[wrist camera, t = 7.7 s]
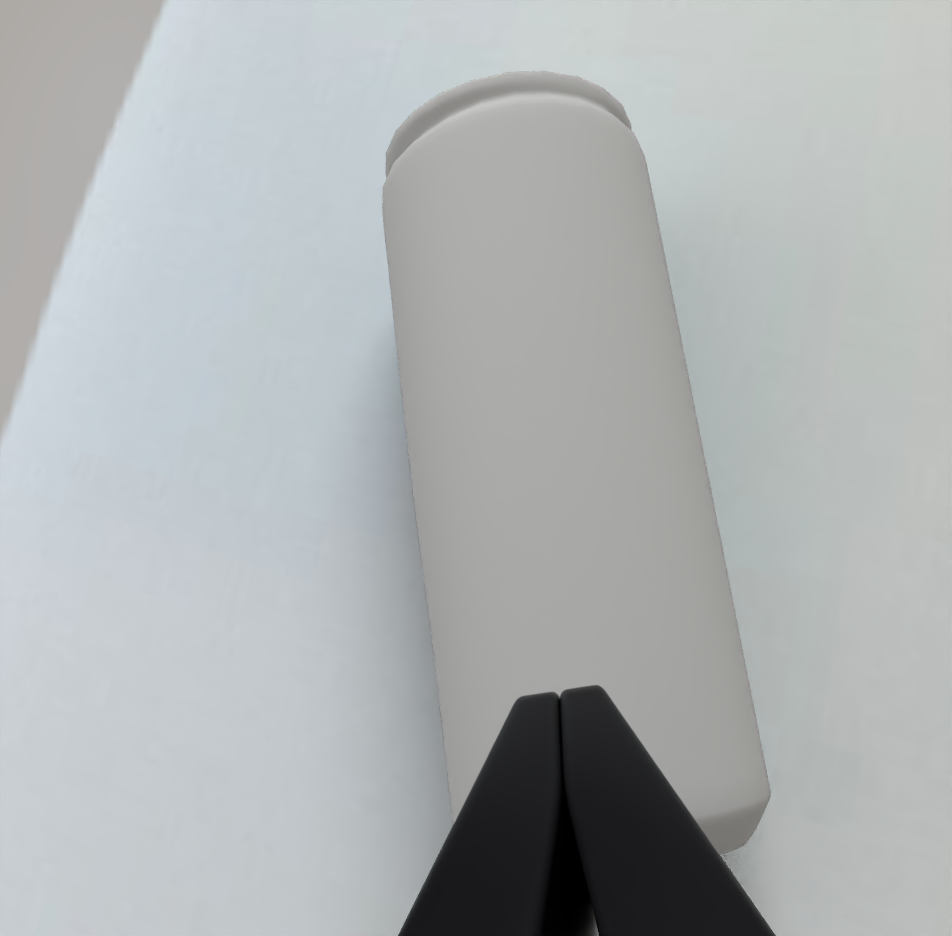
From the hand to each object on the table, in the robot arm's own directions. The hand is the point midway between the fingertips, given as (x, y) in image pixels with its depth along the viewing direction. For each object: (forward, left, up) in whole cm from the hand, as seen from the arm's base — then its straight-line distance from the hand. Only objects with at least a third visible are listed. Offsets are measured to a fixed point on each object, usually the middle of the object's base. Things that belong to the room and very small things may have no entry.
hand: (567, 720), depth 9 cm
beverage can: (-2, 0, -5) cm, 6 cm away
